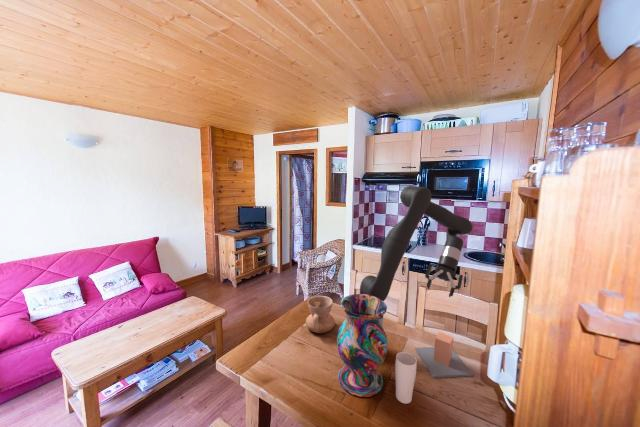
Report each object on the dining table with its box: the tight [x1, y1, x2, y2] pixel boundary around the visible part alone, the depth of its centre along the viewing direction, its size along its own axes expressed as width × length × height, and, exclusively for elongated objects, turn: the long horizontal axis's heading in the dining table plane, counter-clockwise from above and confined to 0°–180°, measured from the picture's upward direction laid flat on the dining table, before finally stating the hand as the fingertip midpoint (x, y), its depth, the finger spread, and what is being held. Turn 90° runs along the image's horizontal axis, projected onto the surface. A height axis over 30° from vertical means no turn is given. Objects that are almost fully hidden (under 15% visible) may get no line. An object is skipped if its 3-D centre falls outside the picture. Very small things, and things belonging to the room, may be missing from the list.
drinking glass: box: [394, 351, 418, 405], centre depth 86 cm, size 7×7×15 cm
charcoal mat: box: [414, 346, 475, 379], centre depth 104 cm, size 16×16×1 cm
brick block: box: [434, 331, 454, 367], centre depth 104 cm, size 6×6×10 cm
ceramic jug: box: [305, 295, 335, 334], centre depth 126 cm, size 18×14×14 cm
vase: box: [336, 293, 389, 398], centre depth 93 cm, size 18×18×30 cm
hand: (438, 292), depth 108 cm, fingers open, 8 cm apart
